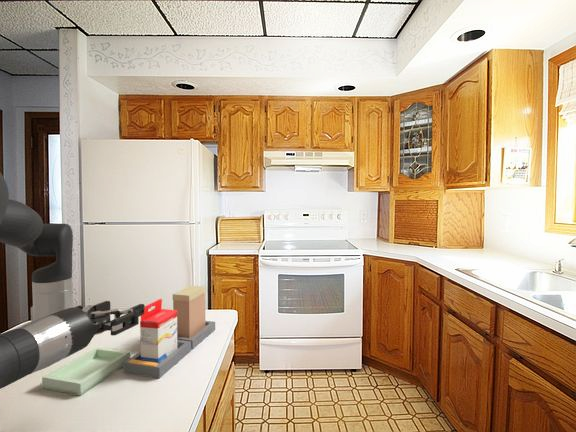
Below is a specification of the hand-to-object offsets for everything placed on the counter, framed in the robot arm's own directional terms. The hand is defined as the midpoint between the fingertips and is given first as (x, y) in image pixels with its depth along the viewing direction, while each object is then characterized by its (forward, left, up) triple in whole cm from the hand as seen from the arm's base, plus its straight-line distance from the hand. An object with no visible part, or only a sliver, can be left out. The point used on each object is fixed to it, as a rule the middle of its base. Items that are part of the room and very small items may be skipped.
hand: (125, 306), depth 66 cm
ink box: (0, +11, -18) cm, 21 cm away
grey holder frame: (0, +18, -18) cm, 25 cm away
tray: (-12, +2, -18) cm, 21 cm away
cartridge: (0, +25, -18) cm, 31 cm away
